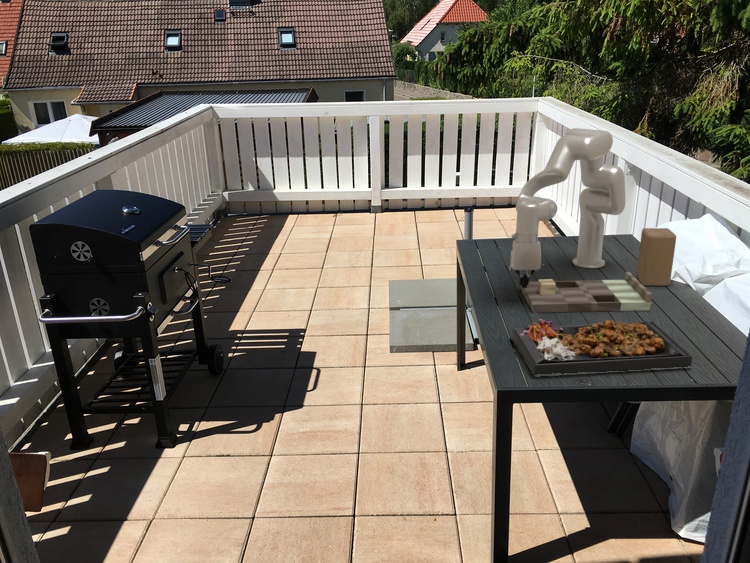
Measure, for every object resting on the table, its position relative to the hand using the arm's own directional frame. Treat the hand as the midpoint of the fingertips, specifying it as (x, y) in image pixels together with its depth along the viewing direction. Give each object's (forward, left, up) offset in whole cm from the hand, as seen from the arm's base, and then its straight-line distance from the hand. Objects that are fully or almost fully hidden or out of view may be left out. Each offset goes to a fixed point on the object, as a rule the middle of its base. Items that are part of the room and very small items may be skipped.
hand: (523, 286), depth 234 cm
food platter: (+42, +14, -6) cm, 45 cm away
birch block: (0, +8, -3) cm, 9 cm away
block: (-16, +52, -6) cm, 55 cm away
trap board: (0, +21, -6) cm, 22 cm away
